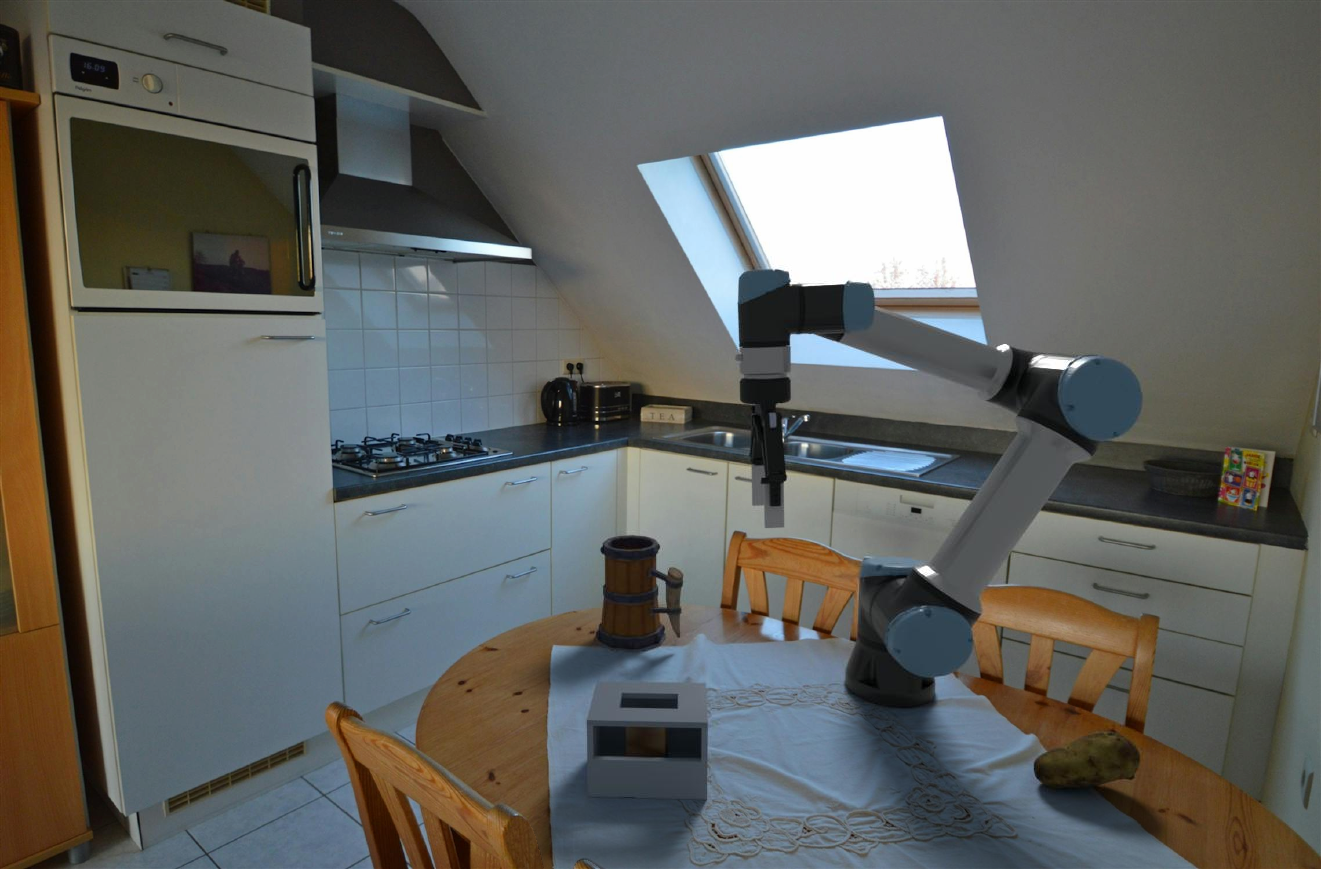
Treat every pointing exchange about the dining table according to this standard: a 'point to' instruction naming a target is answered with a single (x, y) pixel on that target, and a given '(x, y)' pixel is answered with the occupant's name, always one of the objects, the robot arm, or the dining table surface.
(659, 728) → the brown wooden block
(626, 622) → the mug
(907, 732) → the dining table surface
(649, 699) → the coin box
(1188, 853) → the dining table surface
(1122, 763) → the potato
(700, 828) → the dining table surface
